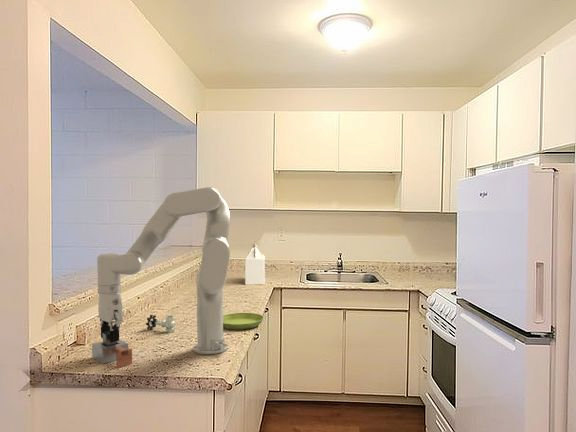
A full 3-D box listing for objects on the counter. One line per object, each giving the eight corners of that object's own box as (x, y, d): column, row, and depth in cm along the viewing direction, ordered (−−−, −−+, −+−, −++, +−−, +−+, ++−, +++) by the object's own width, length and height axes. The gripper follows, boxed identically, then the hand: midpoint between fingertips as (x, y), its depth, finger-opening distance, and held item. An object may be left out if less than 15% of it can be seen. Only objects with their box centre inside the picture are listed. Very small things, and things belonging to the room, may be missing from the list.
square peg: (116, 357, 157) (115, 332, 157) (107, 360, 155) (105, 334, 154) (113, 355, 160) (111, 330, 159) (104, 357, 157) (102, 332, 157)
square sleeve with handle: (92, 357, 157) (92, 343, 157) (117, 351, 164) (116, 338, 164) (111, 369, 146) (111, 354, 146) (137, 362, 152) (137, 347, 152)
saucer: (261, 318, 213) (261, 311, 213) (266, 330, 192) (266, 322, 192) (217, 320, 209) (217, 313, 209) (217, 332, 189) (217, 325, 189)
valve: (178, 330, 192) (155, 327, 196) (178, 315, 192) (155, 313, 196) (169, 334, 186) (145, 332, 190) (169, 318, 186) (145, 316, 190)
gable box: (246, 279, 323) (246, 241, 322) (265, 279, 324) (264, 240, 323) (245, 285, 301) (244, 243, 300) (264, 284, 301) (264, 243, 301)
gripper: (130, 290, 153) (131, 342, 154) (109, 284, 166) (110, 332, 166) (109, 293, 148) (110, 347, 148) (88, 287, 160) (89, 336, 161)
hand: (110, 338), depth 157 cm, fingers open, 6 cm apart
